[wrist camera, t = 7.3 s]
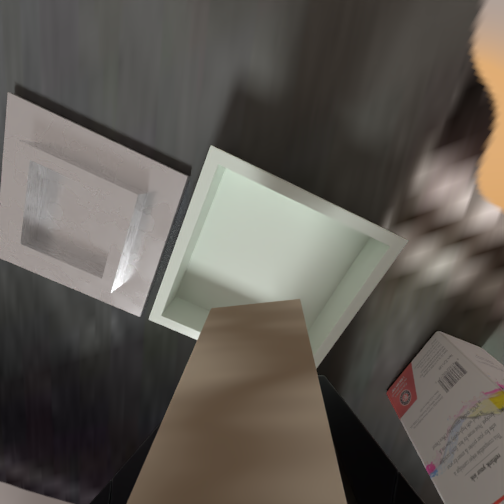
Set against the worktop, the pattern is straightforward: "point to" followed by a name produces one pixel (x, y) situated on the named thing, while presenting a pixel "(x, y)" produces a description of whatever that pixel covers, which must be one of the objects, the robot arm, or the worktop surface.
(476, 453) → the ink cartridge box
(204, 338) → the strut
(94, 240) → the socket collar
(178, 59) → the worktop surface
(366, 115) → the worktop surface
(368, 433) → the robot arm
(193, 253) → the bin
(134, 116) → the worktop surface
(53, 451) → the worktop surface
